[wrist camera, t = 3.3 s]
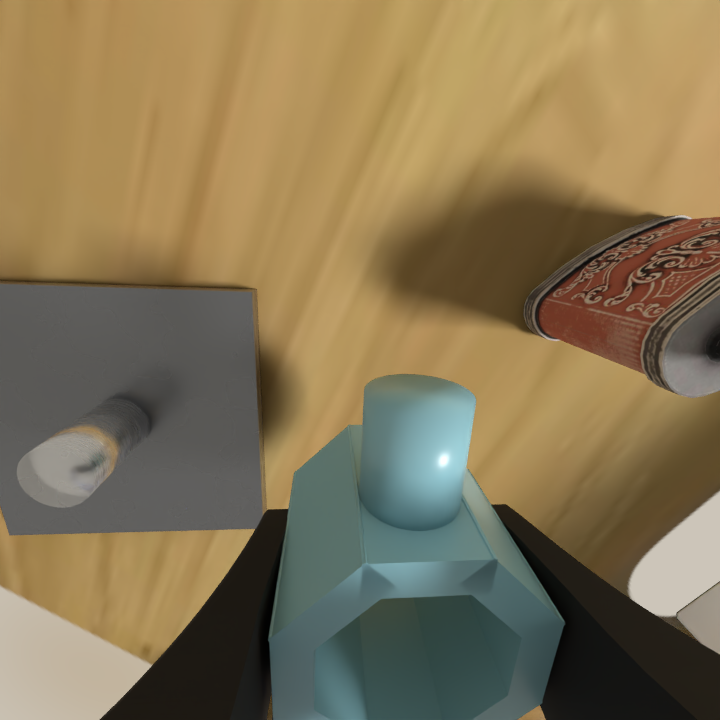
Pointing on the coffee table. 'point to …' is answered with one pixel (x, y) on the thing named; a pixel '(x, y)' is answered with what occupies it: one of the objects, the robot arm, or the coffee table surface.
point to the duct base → (157, 372)
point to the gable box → (704, 618)
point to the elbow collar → (405, 575)
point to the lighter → (642, 302)
